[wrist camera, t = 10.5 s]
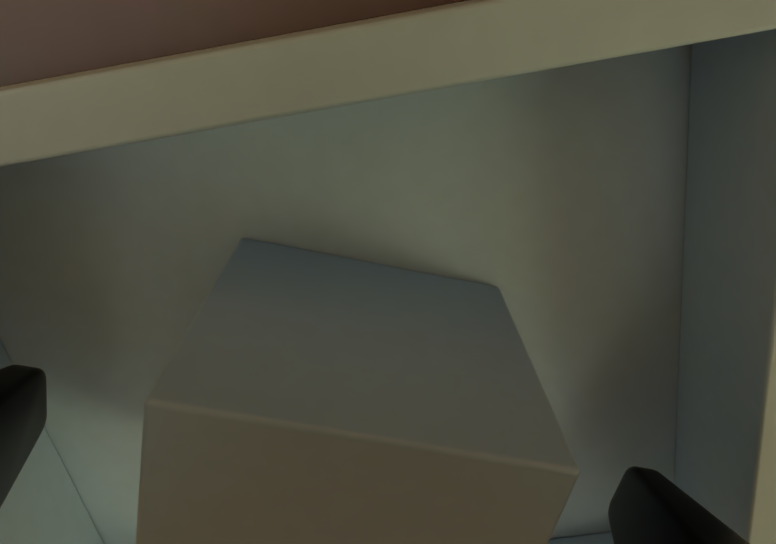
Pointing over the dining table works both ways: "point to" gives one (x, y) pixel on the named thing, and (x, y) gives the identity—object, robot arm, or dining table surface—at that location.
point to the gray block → (349, 413)
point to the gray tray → (418, 228)
